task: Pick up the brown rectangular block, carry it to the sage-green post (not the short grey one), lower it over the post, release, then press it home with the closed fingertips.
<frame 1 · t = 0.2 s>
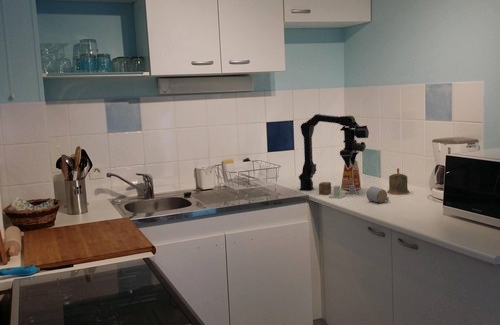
hand: (350, 166, 288), 15 cm above the worktop, fingers open, 8 cm apart
brown rectangular block: (325, 193, 289), on the worktop
ceramic mug: (378, 201, 264), on the worktop
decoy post: (352, 192, 287), on the worktop
post: (337, 196, 280), on the worktop
rusty brown bell: (398, 191, 285), on the worktop
milk carton: (351, 188, 298), on the worktop
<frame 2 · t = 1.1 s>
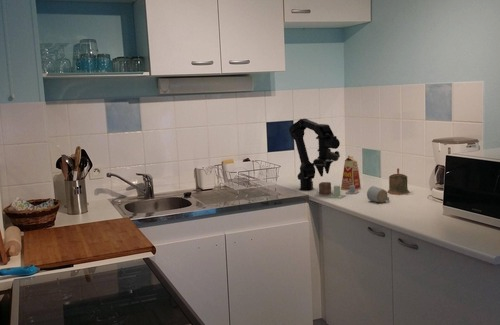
hand: (324, 175, 288), 11 cm above the worktop, fingers open, 9 cm apart
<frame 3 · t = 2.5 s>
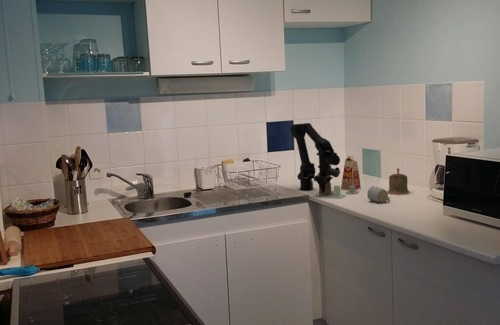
hand: (325, 191, 289), 2 cm above the worktop, fingers closed on brown rectangular block, 5 cm apart
brown rectangular block: (325, 193, 289), on the worktop, touching gripper
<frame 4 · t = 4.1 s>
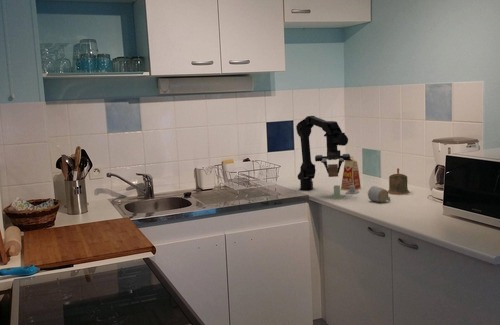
hand: (333, 173, 280), 13 cm above the worktop, fingers closed on brown rectangular block, 5 cm apart
brown rectangular block: (333, 176, 281), point 11 cm above the worktop, touching gripper
when the fingers open (3 cm above the worktop, at t = 6.1 s): brown rectangular block drops 1 cm, resting on post.
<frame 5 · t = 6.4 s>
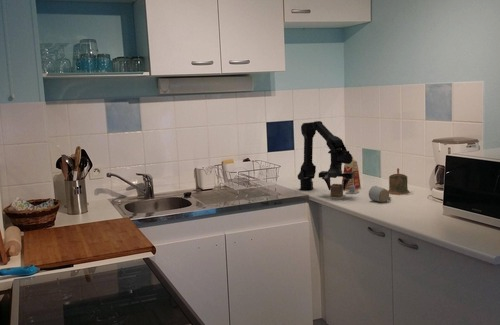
hand: (336, 190, 279), 3 cm above the worktop, fingers open, 8 cm apart
brown rectangular block: (336, 195, 280), resting on post
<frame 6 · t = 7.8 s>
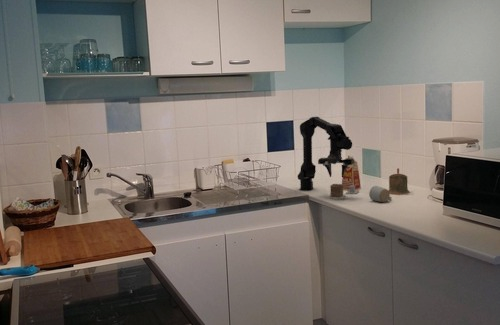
hand: (336, 176, 278), 11 cm above the worktop, fingers open, 6 cm apart
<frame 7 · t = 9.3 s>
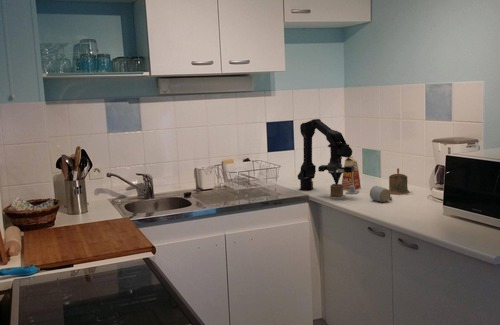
hand: (336, 184, 279), 7 cm above the worktop, fingers closed
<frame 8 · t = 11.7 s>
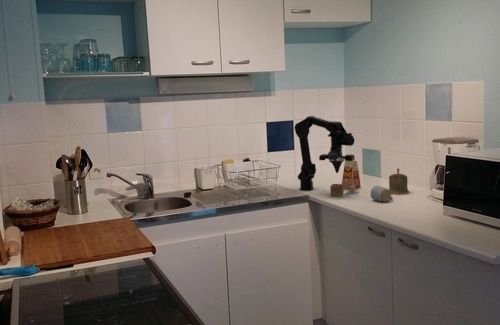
hand: (337, 172, 285), 12 cm above the worktop, fingers closed
at the end: brown rectangular block 0.1 cm from the post (horizontally); brown rectangular block point 0.5 cm above the worktop; the gripper is holding nothing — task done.
